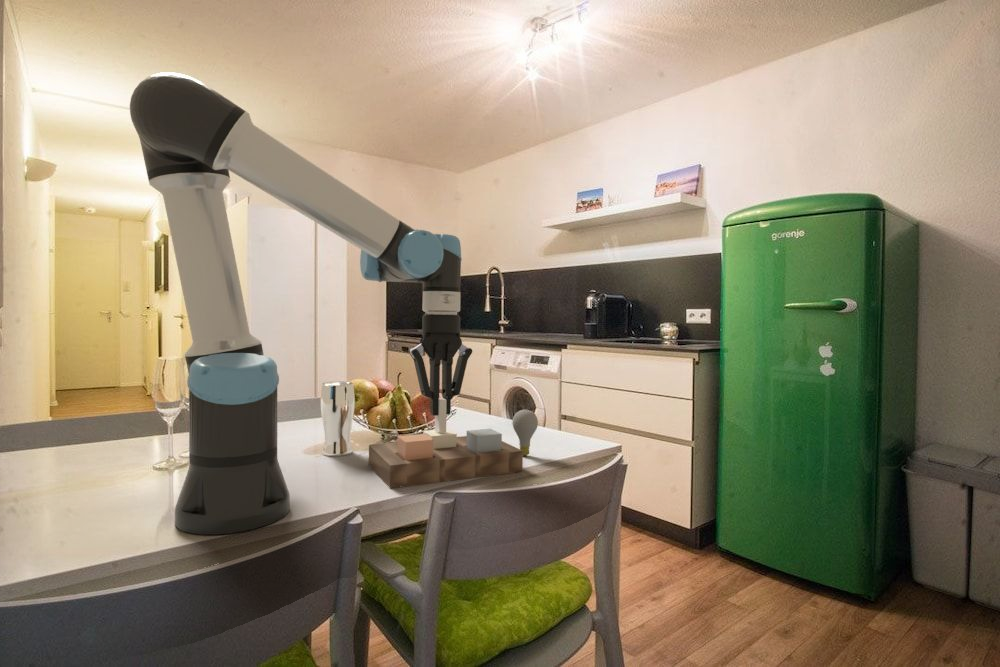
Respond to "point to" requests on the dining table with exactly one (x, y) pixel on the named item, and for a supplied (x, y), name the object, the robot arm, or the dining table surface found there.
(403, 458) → the key terracotta
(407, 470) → the brown wooden base
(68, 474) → the dining table surface
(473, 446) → the key slate
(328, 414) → the beer glass
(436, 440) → the key ivory
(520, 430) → the light bulb
